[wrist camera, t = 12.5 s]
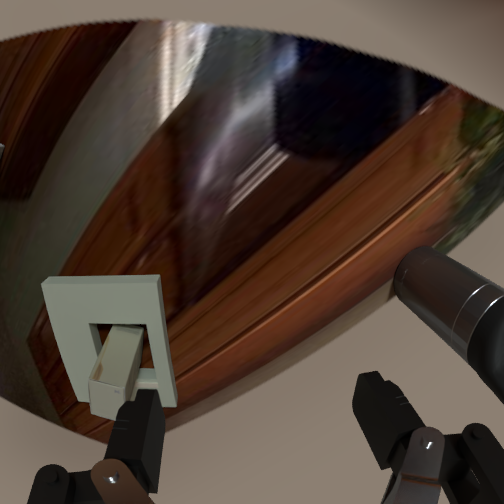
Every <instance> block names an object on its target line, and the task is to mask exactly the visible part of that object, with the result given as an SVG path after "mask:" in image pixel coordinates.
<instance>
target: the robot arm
mask: <svg viewBox="0 0 504 504" xmlns="http://www.w3.org/2000/svg"><path fill="white" fill-rule="evenodd" d="M394 289H395V293H396V295H397V297H398V298H399V300H400V301H401V302H403V303H404V304H405V305H406V306H407V307H408V308H409V309H410V310H411V311H412V312H414V313H415V314H416V315H417V316H418V317H419V318H420V319H421V320H422V321H423V322H424V323H425V324H427V325H428V326H429V327H430V328H431V329H432V330H433V331H434V332H435V333H436V334H437V335H438V336H439V337H440V338H442V339H443V340H444V341H445V342H446V343H447V344H448V345H449V346H450V347H451V348H452V349H453V350H454V351H455V352H456V353H457V354H458V355H460V356H461V357H462V358H463V359H464V360H465V361H466V362H467V363H468V364H469V365H470V366H471V367H472V368H473V369H474V370H475V371H476V372H477V374H478V375H479V377H480V378H481V379H482V380H483V382H484V383H485V384H486V385H487V386H488V387H489V388H490V389H491V390H492V391H493V392H494V394H495V395H496V396H497V397H498V398H499V400H500V401H501V402H502V403H503V404H504V288H502V287H500V286H499V285H497V284H495V283H494V282H492V281H490V280H489V279H487V278H485V277H483V276H482V275H480V274H478V273H477V272H475V271H473V270H471V269H470V268H468V267H466V266H464V265H462V264H461V263H459V262H457V261H455V260H453V259H452V258H450V257H448V256H446V255H445V254H443V253H441V252H439V251H437V250H435V249H433V248H431V247H427V246H425V247H419V248H416V249H414V250H412V251H411V252H410V253H409V254H407V255H406V256H405V258H404V259H403V260H402V261H401V263H400V265H399V266H398V269H397V271H396V274H395V278H394ZM352 407H353V412H354V415H355V417H356V418H357V421H358V423H359V425H360V427H361V429H362V431H363V433H364V435H365V437H366V439H367V441H368V443H369V446H370V447H371V450H372V452H373V454H374V456H375V458H376V460H377V462H378V464H379V466H380V469H381V470H384V469H387V468H390V467H391V469H392V471H393V473H392V475H391V477H390V480H389V483H388V485H387V488H386V491H385V494H384V496H383V499H382V501H381V504H438V499H439V495H440V491H441V486H442V488H443V490H444V492H445V494H446V496H447V498H448V500H449V502H450V504H504V449H503V448H502V446H501V445H500V443H499V442H498V441H497V439H496V438H495V436H494V435H493V434H492V432H491V431H490V430H489V428H487V427H486V426H485V425H483V424H480V423H472V424H469V425H467V426H466V427H465V428H464V430H463V432H462V433H461V434H450V435H443V434H442V433H441V432H440V431H439V430H437V429H435V428H433V427H426V426H425V424H424V423H423V421H422V420H421V418H420V417H419V416H418V414H417V413H416V411H415V410H414V408H413V407H412V405H411V404H410V403H409V401H408V399H407V398H406V397H404V394H403V392H402V391H401V389H400V388H399V387H398V386H397V385H396V384H394V383H392V382H391V381H390V380H388V381H384V379H383V378H382V376H381V375H380V373H378V371H373V372H368V373H362V374H359V376H358V379H357V383H356V387H355V392H354V396H353V400H352ZM164 434H165V416H164V412H163V408H162V404H161V401H160V397H159V393H158V390H157V389H138V390H137V393H136V397H135V400H134V401H125V403H124V404H123V405H122V406H121V407H120V408H119V409H118V413H117V416H116V421H115V422H114V426H113V429H112V432H111V436H110V439H109V443H108V446H107V450H106V453H105V457H104V459H103V460H102V461H99V462H98V463H96V464H95V465H94V466H93V468H92V469H91V470H88V471H82V472H71V473H68V472H67V471H66V469H65V468H63V467H61V466H59V465H55V464H50V465H46V466H44V467H42V468H41V469H40V470H39V471H38V472H37V474H36V476H35V479H34V483H33V485H32V489H31V492H30V495H29V499H28V502H27V504H154V502H153V501H152V500H151V498H150V497H149V496H148V495H149V493H157V492H158V483H159V474H160V465H161V457H162V449H163V442H164ZM472 471H473V472H472ZM474 474H475V475H474ZM475 476H476V477H475ZM478 481H479V482H478ZM479 483H480V484H479Z"/></svg>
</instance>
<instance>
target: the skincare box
mask: <svg viewBox="0 0 504 504" xmlns="http://www.w3.org/2000/svg"><path fill="white" fill-rule="evenodd" d="M143 336H144V328H143V327H139V326H135V325H131V324H113V326H112V328H111V330H110V332H109V335H108V337H107V339H106V341H105V343H104V345H103V347H102V349H101V352H100V354H99V356H98V358H97V360H96V363H95V365H94V367H93V369H92V372H91V374H90V376H89V378H88V393H89V402H90V409H91V414H94V415H97V416H100V417H104V418H108V419H111V420H115V421H116V416H117V413H118V409H119V408H120V407H121V406H122V405H123V404H124V403H125V401H130V400H131V396H132V393H133V389H134V385H135V381H136V378H137V374H138V370H139V367H140V363H141V358H142V349H143Z"/></svg>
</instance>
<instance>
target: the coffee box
mask: <svg viewBox="0 0 504 504" xmlns="http://www.w3.org/2000/svg"><path fill="white" fill-rule="evenodd" d="M3 149H4V145H2V144H0V158H1V155H2V152H3Z"/></svg>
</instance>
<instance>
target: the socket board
mask: <svg viewBox="0 0 504 504" xmlns="http://www.w3.org/2000/svg"><path fill="white" fill-rule="evenodd" d="M41 286H42V290H43V294H44V298H45V302H46V306H47V310H48V314H49V317H50V321H51V324H52V328H53V331H54V334H55V338H56V341H57V344H58V347H59V350H60V353H61V356H62V359H63V362H64V365H65V368H66V370H67V373H68V376H69V378H70V381H71V384H72V386H73V389H74V391H75V394H76V396H77V399H78V401H82V402H89V393H88V378H89V376H90V374H91V372H92V369H93V367H94V365H95V363H96V360H97V358H98V356H99V354H100V352H101V349H102V344H101V340H100V336H99V332H98V328H97V324H96V323H101V324H147V330H148V336H149V342H150V347H151V352H152V358H153V363H154V368H155V369H148V368H139V370H138V374H137V378H136V381H135V385H134V389H133V393H132V396H131V400H130V401H134V400H135V397H136V393H137V390H138V389H157V390H158V393H159V397H160V401H161V404H162V407H177V398H178V395H177V390H176V384H175V379H174V373H173V367H172V361H171V355H170V348H169V342H168V335H167V328H166V320H165V313H164V305H163V297H162V288H161V279H160V275H127V276H63V277H48V278H47V279H46V280H45V281H44V282H43V283H41Z"/></svg>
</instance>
